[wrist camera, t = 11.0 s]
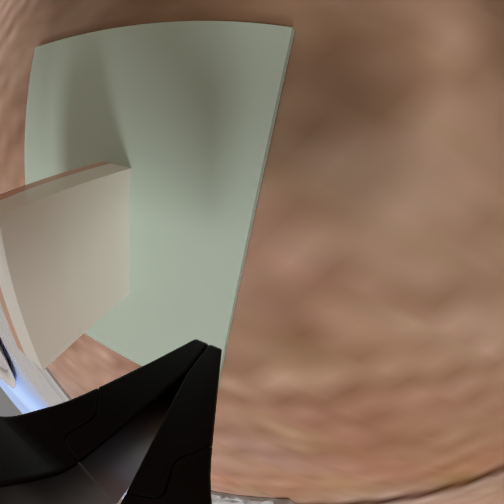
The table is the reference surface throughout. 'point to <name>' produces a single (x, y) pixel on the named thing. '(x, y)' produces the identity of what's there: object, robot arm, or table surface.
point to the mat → (166, 160)
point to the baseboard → (33, 368)
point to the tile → (63, 256)
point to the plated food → (6, 370)
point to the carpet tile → (244, 499)
